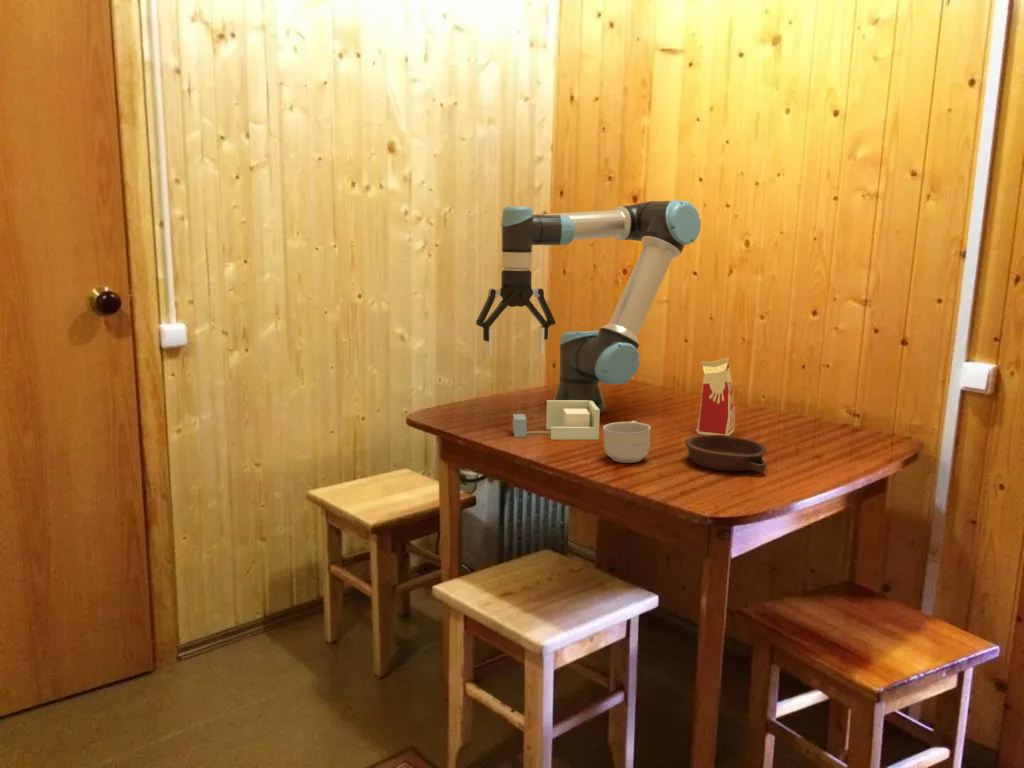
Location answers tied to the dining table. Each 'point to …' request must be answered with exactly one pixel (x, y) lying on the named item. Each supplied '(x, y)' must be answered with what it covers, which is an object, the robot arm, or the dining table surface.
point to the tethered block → (569, 420)
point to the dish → (726, 453)
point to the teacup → (627, 441)
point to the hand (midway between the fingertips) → (515, 353)
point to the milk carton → (716, 400)
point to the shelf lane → (572, 433)
